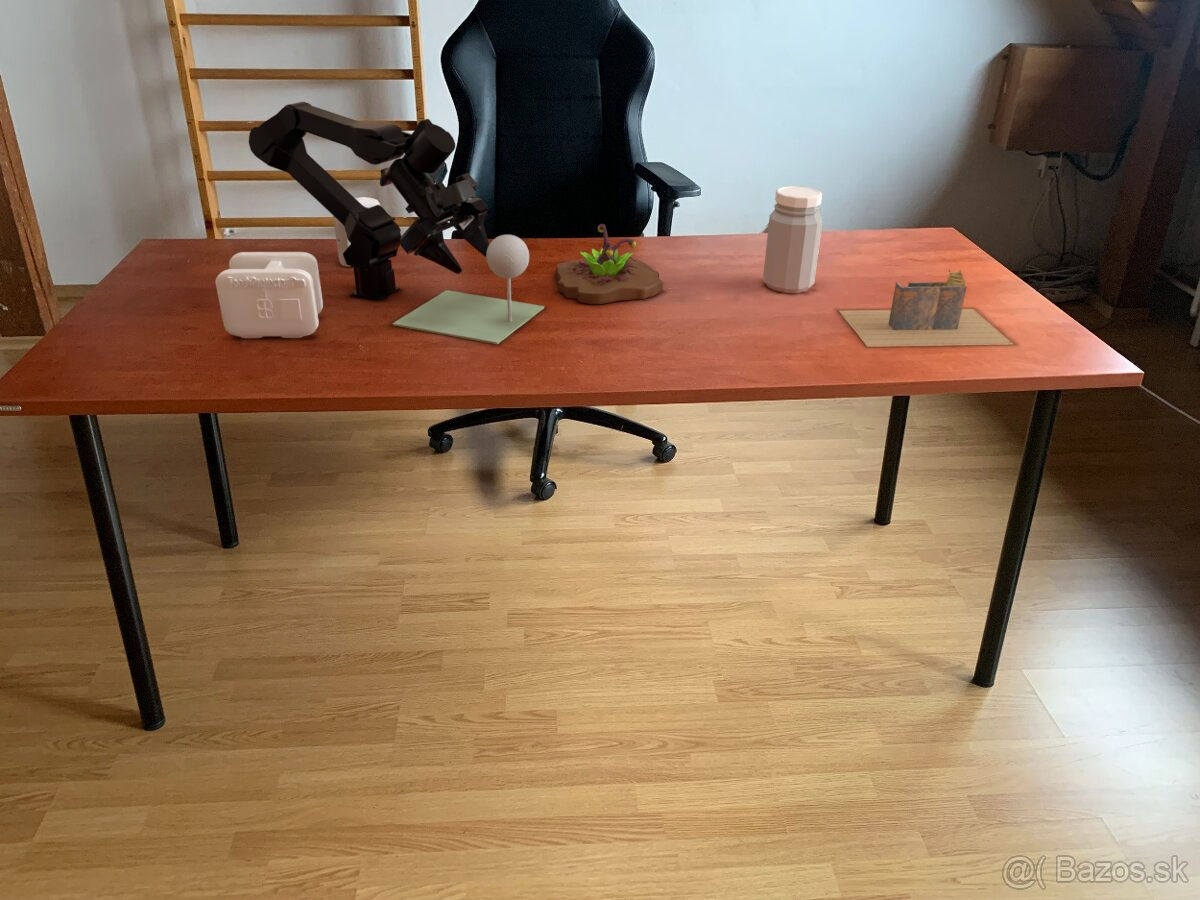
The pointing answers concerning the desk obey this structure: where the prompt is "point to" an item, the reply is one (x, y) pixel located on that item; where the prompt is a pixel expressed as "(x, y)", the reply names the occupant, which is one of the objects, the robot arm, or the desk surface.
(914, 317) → the ruin model on sheet
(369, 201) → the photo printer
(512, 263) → the lollipop
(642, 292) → the plant
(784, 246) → the jar
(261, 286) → the cable organizer
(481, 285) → the desk surface
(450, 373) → the desk surface
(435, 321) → the desk mat
